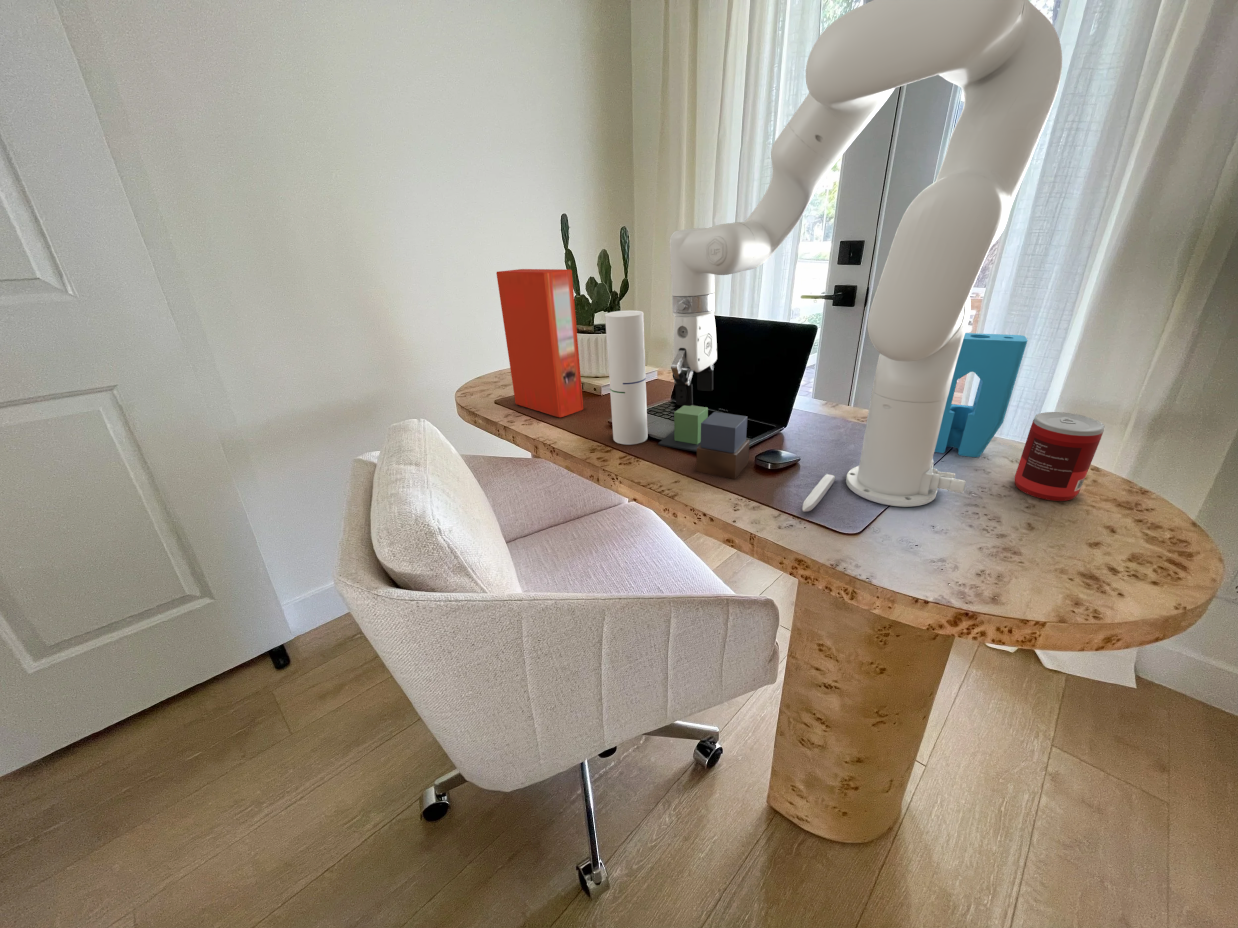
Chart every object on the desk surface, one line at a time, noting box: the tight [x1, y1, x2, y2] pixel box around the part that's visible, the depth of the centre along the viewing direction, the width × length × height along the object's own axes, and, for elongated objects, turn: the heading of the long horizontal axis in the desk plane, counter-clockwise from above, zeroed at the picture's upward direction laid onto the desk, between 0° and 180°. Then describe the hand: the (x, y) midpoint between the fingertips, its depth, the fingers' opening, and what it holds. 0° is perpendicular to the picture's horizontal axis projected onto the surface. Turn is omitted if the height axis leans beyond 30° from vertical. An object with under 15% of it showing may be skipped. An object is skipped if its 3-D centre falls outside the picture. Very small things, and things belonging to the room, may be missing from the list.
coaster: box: [657, 430, 701, 453], centre depth 99 cm, size 10×10×1 cm
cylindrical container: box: [604, 309, 649, 446], centre depth 96 cm, size 7×7×25 cm
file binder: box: [496, 268, 584, 419], centre depth 116 cm, size 8×17×32 cm, turn 47°
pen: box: [801, 473, 836, 513], centre depth 75 cm, size 2×14×2 cm, turn 142°
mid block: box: [701, 411, 748, 453], centre depth 84 cm, size 6×6×4 cm
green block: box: [673, 405, 709, 444], centre depth 97 cm, size 5×5×6 cm
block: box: [934, 332, 1029, 458], centre depth 84 cm, size 12×5×20 cm, turn 59°
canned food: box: [1014, 411, 1105, 502], centre depth 72 cm, size 8×8×11 cm
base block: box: [696, 438, 751, 480], centre depth 86 cm, size 7×7×4 cm
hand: (695, 397), depth 94 cm, fingers open, 9 cm apart
